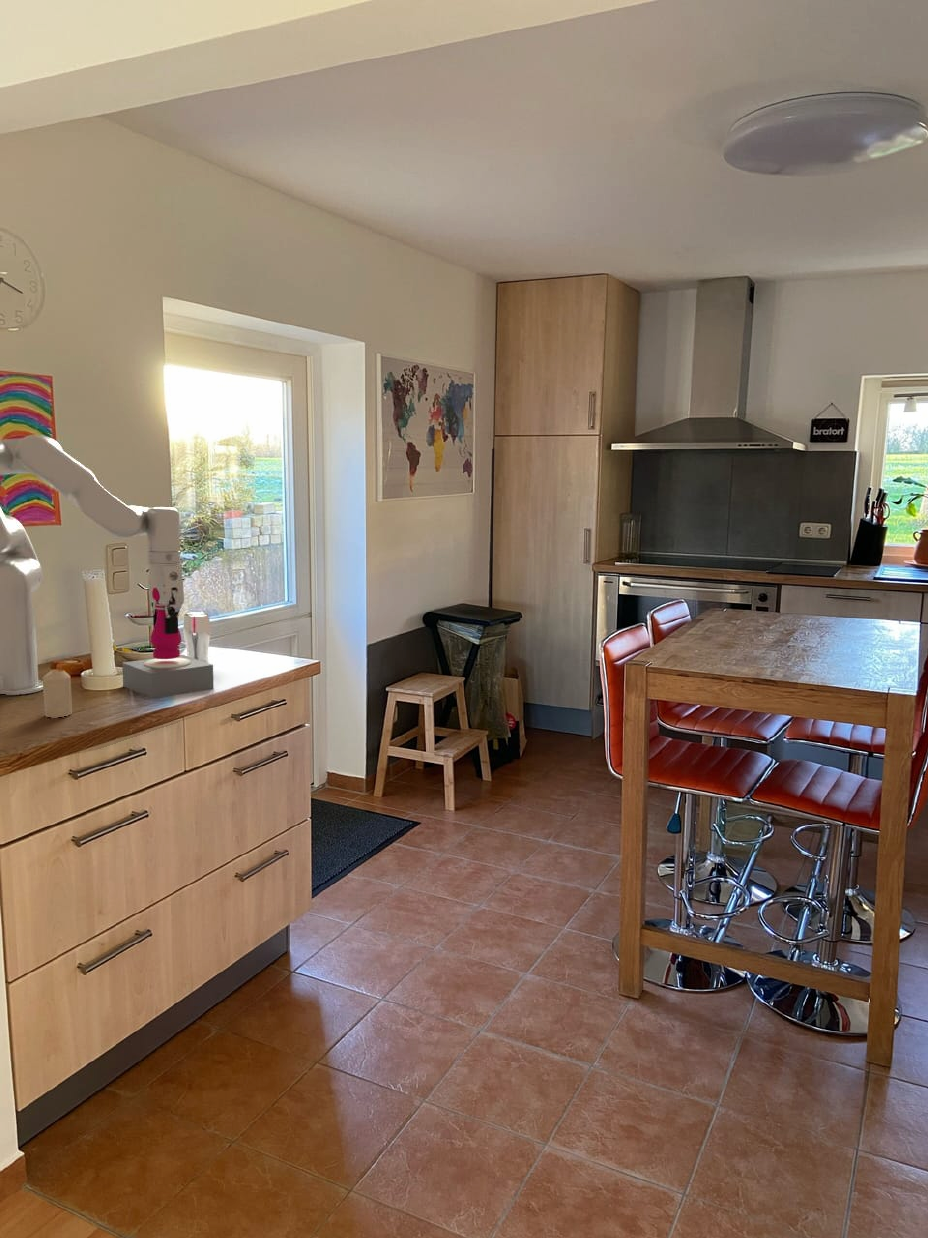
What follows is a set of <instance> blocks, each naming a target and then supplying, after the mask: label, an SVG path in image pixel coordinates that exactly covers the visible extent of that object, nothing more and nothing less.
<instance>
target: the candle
mask: <svg viewBox="0 0 928 1238" xmlns="http://www.w3.org/2000/svg"><path fill="white" fill-rule="evenodd" d="M71 680H72V679H71V675H70V674H69V673H68V672H66V671H65V670H64V669H62V670H58V669H56V668H55V669H51V670H49V672H47V673H46V674H44V676H43V677H42V681H43V690H42V691H43V707H44V709H43V710H44V711H43V712H44V716H46V717H45V718H47V717H51V718H50V719H59V718H58V717H63V718H65V717H64V716H67V717H69V716H68V715H70V714H73V702H72V700H73V699H72V685H71V684H72V683H71ZM70 716H71V715H70Z"/></svg>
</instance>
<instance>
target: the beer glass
mask: <svg viewBox="0 0 928 1238" xmlns="http://www.w3.org/2000/svg"><path fill="white" fill-rule="evenodd" d="M210 623H211V621H210V614H209V613H207V612H190V613H189V612H188V613H184V614H183V640H184V643H185V648H186V652H187V655H186V656H188V657H191V658H194V659H197V660H200V661H203V662H206V663H209V659H208V658H209V657H208V655H209V653H208V652H209V646H210V637H211V624H210Z"/></svg>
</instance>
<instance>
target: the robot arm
mask: <svg viewBox="0 0 928 1238" xmlns="http://www.w3.org/2000/svg"><path fill="white" fill-rule="evenodd" d="M19 474H32V475H33V476H35V477H36V478H37V479H40V480H41V481H42V482H43V483H45V484H46V485H48V486H49V487H51V488H52V489H53V490H55V491H56V492H57V493H59V494H61V495H62V496H63V497H65V498H66V499H67V501H69V502H70V503H71V504H72V505H74V507H76V508H77V509H78V510H80V511H81V512H82V513H83V514H84V515H85V516H87V517H88V518H89V519H90V520H92V521H93V522H94V523H96V524H97V525H99V526H101V528H103V529H104V530H105V531H107V532H109V533H110V534H112V535H113V536H115V537H118V538H120V539H127V540H128V539H132V538H135V537H141V536H146V539H147V565H149V568H148V580H147V581H148V582H147V583H148V585H147V586H148V587H147V589H148V600H149V602H150V605H151V607H152V610H151V613H152V614H153V615H152V620H153V621H152V622H153V623H152V625H153V627H152V628H154V627H155V624H156V620H157V610H156V609H155V603H156V601H155V600H154V598H153V596H152V591H153V588H157V589H158V591H159V594H160V600H159V601H158V604H161V605H163V606H165V612H166V617H167V618H165V633H166V634H174V633H178V629H179V617H180V614H179V613H180V611H181V608H182V607H183V604H184V603H185V592H184V580H183V572H182V567H181V542H180V541H181V539H180V537H181V535H180V533H181V532H180V512H179V510H178V509H176V507H175V508H174V507H166V506H165V507H164V506H156V507H145V506H138V505H127V504H125V503H124V502H122V501H121V500H120V499H118V498H117V497H116V496H114V495H113V494H111V493H110V492H109V491H108V490H107V489H105V487H104V486H102V485H101V483H99V481H98V479H97V478H96V476H95V474H94V473H93V472H92V471H91V470H90V469H89V468H87V467H86V466H85V465H83V464H82V463H81V462H79V461H78V460H76V459H75V458H73V457H72V456H71V455H69V454H68V453H66V452H65V451H64V450H63V448H62V446H61V444H59V442H57V440H55V439H54V438H52V437H50V436H47V435H40V434H30V435H27V436H24V437H22V438H21V437H20V438H10V439H9V438H8V439H7V438H4V439H0V476H6V475H19ZM38 558H39V557H38V556H37V554H36V551H35V549H34V546H33V544H32V542H31V539H30V537H29V535H28V533H27V531H26V528H25V527H24V526H23V524H22V523H21V522H20V521H19V520H18V519H16V518H15V517H13V516H11V515H8V514H5V513H4V512H3V509H2V507H1V506H0V694H6V695H5V696H20V694H21V695H26V694H28V695H29V694H32V693H33V694H34V693H37V692H40V691H43V680H40V679H39V670H38V668H39V667H38V666H39V665H38V652H37V649H38V648H37V633H36V632H37V631H36V629H37V628H36V617H35V616H36V615H35V609H34V607H35V606H34V602H33V598H32V597H33V596H32V593H34V592H36V591H37V590H38V589H39V588H40V586H41V585H42V583H43V579H44V573H43V569H42V565H41V563H40V560H39V559H38ZM170 602H173V604H170V605H169V603H170ZM171 607H173V608H171ZM169 608H171V610H169Z"/></svg>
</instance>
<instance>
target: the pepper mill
mask: <svg viewBox="0 0 928 1238" xmlns="http://www.w3.org/2000/svg"><path fill="white" fill-rule="evenodd" d="M152 596H153V598H154V600H155V601H156V603H155V609H156V610H157V620H156V624H155V627H153V629H152V632H151V634H150V643H151V645H152V646H153V647H154V649H153V650H152V658H156V659H174V658H178V657H179V656H180V655H181V652H180V651H181V650H180V648H178V647H179V646H180V645H181V643H182V634H181V632H180V629H179V628H178V633H174V634H166V633H165V618H167V617H166V612H165V606H163V605H161V604H158V601H159V600H160V594H159V591H158V589H157V588H153V591H152ZM170 604H173V602H170V603H169V605H170ZM171 608H173V607H171ZM171 608H169V610H171Z"/></svg>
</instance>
